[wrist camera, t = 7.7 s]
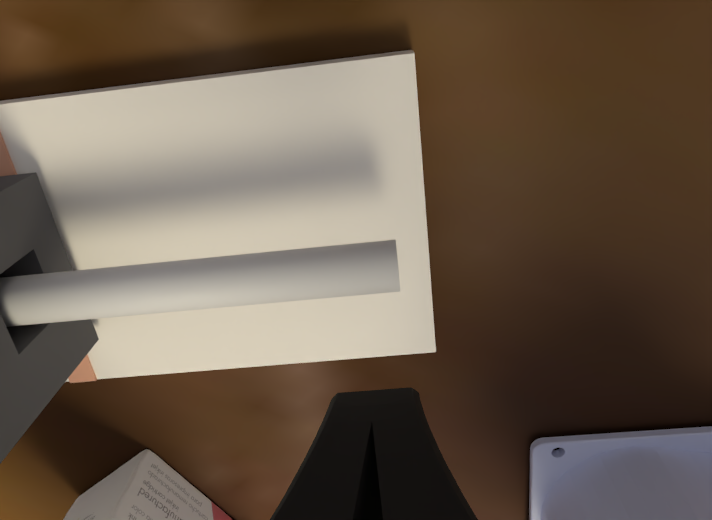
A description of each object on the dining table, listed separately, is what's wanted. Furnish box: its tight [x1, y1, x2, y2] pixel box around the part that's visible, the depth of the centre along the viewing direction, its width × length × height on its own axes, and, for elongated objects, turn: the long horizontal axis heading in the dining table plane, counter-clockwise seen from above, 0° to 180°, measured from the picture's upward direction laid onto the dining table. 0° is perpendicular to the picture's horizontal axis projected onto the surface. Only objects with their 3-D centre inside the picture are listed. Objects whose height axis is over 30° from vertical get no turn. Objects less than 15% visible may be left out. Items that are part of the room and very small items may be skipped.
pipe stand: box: [0, 50, 436, 383], centre depth 16 cm, size 20×10×8 cm, turn 97°
